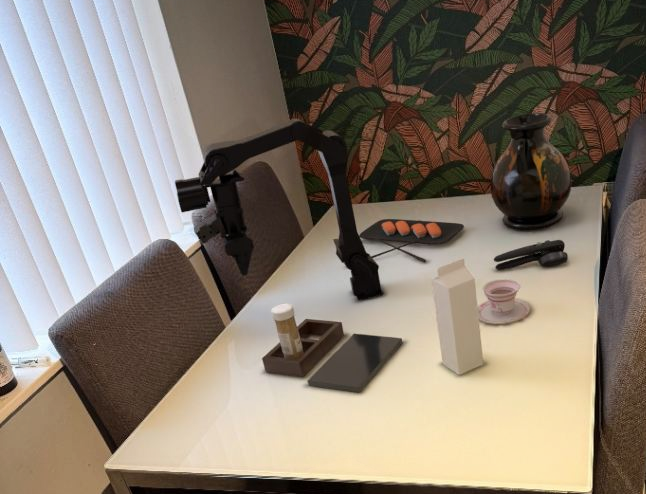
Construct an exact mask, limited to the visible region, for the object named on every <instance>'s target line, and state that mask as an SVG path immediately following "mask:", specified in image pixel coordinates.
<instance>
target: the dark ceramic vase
mask: <svg viewBox="0 0 646 494" xmlns="http://www.w3.org/2000/svg"><path fill="white" fill-rule="evenodd" d="M552 122H553V117H552V116H551V115H550V114H548V113H542V112H531V113H523V114H517V115H514V116H511V117H509V118H506V119H504V121H503V122H502V124H501V127H502V129H504V130H506V131H508V132H509V135H510V142H509V143H508V145H507V147H506V148H505V149H504V151H503V152H502V153H501V155H499V157H498V159H497V160H496V162H495V165H494V167H493V171H492V174H491V178H490V179H491V180H490V193H491V198H492V200H493V203H494V204H495V207H497V209H498V210H499V211H500V212H501V213H502V214H504V215H503V216H502V223H503V224H504V226H505V227H507V228H509V229H511V230H515V231H519V232H534V231H540V230H541V231H542V230H544V229H548V228H551V227H553V226H555V225H556V224H558V223H560V221H561V220H562V219H563V215H564V212H563V211H562V209H561V208H562V207H563V206H564V205H565V204H566V203H567V201H568V200H569V197H570V195H571V191H572V175H571V171H570V167H569V165H568V162H567V160H566V158H565V157H564V155H563V154H562V153H561V151H560V150H559V149H558V148H557V147H555V146H554V144H552V142H550V141H549V140H548V138H547V137H546V134H545V131H546V127H547V126H549V125H550V124H552Z"/></svg>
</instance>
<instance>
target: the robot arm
mask: <svg viewBox="0 0 646 494" xmlns="http://www.w3.org/2000/svg"><path fill="white" fill-rule="evenodd" d="M296 141H299V142H301V143H303V144H305V145H306V146H309V147H310V148H313V150H316V151H317V152H318V155H319V156H320V161H321V162H322V164H323V166H324V169H325V170H326V173H327V176H328V180H329V185H330V190H331V196H332V200H333V206H334V210H335V215H336V216H335V217H336V220H337V225H338V231H339V232H338V238H334V239H333V244H334V246H335V255H336V256H337V258H338V260H339V261H340V262H341V263H342V264H344V266H345V267H346V268H347V269H348V270H349V271H350V274H351V276H350V277H349V282H350V286H351V291H352V293H353V294H352V295H353V297H356V299H357V301H364V300H367V299H371V298H375V297H379V296H383V295H384V291H383V289H382V285H381V279H380V275H379V269H380V265H379V264H378V263H377V262H376V261H375V259H374V258H372V257H371V256H372V255H371V254H370V253H368V252H367V251H366V248H365V246H364V243H363V241H362V238H360V237H359V235H360V234H359V233H358V229H357V223H356V218H355V212H354V208H353V203H352V197H351V191H350V186H349V182H348V177H347V176H348V175H347V169H348V163H349V162H348V161H349V160H348V157H349V156H348V145H347V142H346V140H345V139H344V138H343V137H341V135H340V134H338V133H337V132H336V131H333V130H330V129H328V130H325V131H323V130H321V129H320V128H317V127H316V126H313V125H311V124H308V123H306V122H304V121H303V120H301V119H300V118H297V117H296V118H291V119H289V121H286V122H284V123H281V124H279V125H276V126H273V127H270V128H267V129H265V130H263V131H260V132H257V133H255V134H252V135H250V136H247V137H245V138H242V139H237V140H225V141H219V142H214V143H210V144H208V145H207V146H206V147H205V149H204V150H203V152H202V153H203V154H202V159H203V163H202V165H201V167H200V170H199V172H198V174H197V175H198V176H196V177H191V178H186V179H175V180H174V184H175V189H176V197H177V201H178V206H179V208H180V212H181V213H186V212H191V211H196V210H201V209H202V210H203V209H207V207H208V206H209V203H211V197H212V200H213V204H214V205H213V206H214V209H213V212H214V214H213V215H212V216H209V217H207V218H205V219H204V220H202V221H201V222H199V223H197V224H196V225H195V226H193V232H194V234H195V235H196V237H197V239H198V240H199V241H200V242H201V244H206V243H208V242H209V240H211V239H213V238H215V237H216V236H218V235H220V238H222V239H223V240H222V244H223V248H224V252H225V255H227V256H229V257H232V258H233V259H234V261H235V263H236V265H237V266H238V270H239V272H240V275H241V276H242V277H245V276H247V275H248V272H249V268H250V263H251V259H252V255H253V251H254V249H255V246H254V242H253V241H254V240H253V239H252V236H251V234H249V233H247V231H248V227H247V224H246V222H245V221H246V220H245V217H244V209H243V206H242V203H241V198H240V193H239V189H238V185H237V183H239V182H243V181H245V177H244V175H243V174H242V173H240V172H239V171H238V170H237V168H239V167H240V166H241V165H242V164H244V163H245V162H247V161H248V160H249V159H252V158H254V157H257V156H259V155H262V154H265V153H268V152H271V151H273V150H275V149H278V148H281V147H283V146H286V145H289V144H290V143H291V144H292V143H294V142H296ZM208 188H210V192H211V197H210V193H209V189H208Z"/></svg>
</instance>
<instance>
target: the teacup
mask: <svg viewBox="0 0 646 494" xmlns="http://www.w3.org/2000/svg"><path fill="white" fill-rule="evenodd" d="M520 289H521V284H520V283H519V282H518V281H517V280H513V279H507V278H500V279H493V280H490V281H487V282H486V283H484V284H483V285H482V291H483V293H484V296H485V297H486V299H487V300H488V301H485V302H484V303H482V304H480V305H479V306H478V316H479V322H483V323H486V324H490V325H491V324H492V325H504V324H511V323H515V322H517V321H520V320H522V319H524V318H526V317H527V316H528V315H529V314H530V311H531V307H530V305H529V303H527V302H526V301H525V300H523V299H519V298H516V296H517V293H518V292H519V291H520Z"/></svg>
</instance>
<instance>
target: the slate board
mask: <svg viewBox="0 0 646 494" xmlns="http://www.w3.org/2000/svg"><path fill="white" fill-rule="evenodd" d="M403 343H404V342H403V338H402V337H393V336H384V335H383V336H382V335H372V334H362V333H352V335H351V336H350V337H349V338H348V339H347V340H346V341H345V342H344V343H343V344H342V345H341V346H340V347H339V348H338V349H337V350H336V351H335V352H334V353H333V354H332V355H331V356H330V357H329V358H328V359H327V360H326V361H325V362H324V363H323V364H322V365H321V367H319V368H318V369H317V370H316V372H315V373H313V374H312V376H310V378H308V380H307V384H308V386H310V387H316V388H323V389H324V388H325V389H331V390H340V391H346V392H353V393H361V392H362V391H363V389H364V388H365V387H366V386H367V384H369V382H370V381H371V380H372V379H373V378H374V377H375V376H376V374H377V373H378V372H379V371H380V370H381V369H382V368H383V366H385V364H386V363H387V362H388V361H389V360H390V358H392V356H393V355H394V354H395V352H396V351H397V350H398V349H399V348H400V347H401V346H402V345H403Z"/></svg>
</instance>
